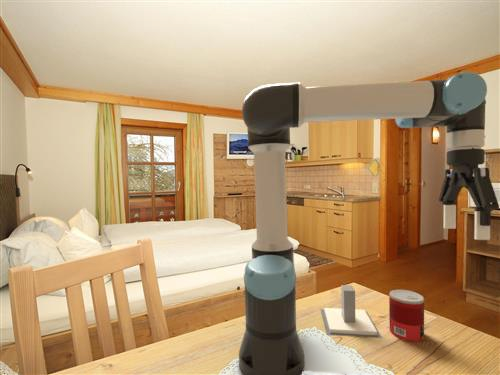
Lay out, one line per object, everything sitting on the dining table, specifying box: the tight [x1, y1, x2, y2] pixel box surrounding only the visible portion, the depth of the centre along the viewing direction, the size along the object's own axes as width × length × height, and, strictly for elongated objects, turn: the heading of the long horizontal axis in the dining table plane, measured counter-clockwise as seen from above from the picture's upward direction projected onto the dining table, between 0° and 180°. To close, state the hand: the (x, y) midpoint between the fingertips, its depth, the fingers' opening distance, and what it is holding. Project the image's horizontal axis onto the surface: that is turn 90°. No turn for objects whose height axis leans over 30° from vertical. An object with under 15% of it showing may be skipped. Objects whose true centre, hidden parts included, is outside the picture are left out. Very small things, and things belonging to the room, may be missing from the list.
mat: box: [319, 309, 383, 339], centre depth 78 cm, size 14×14×1 cm
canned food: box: [388, 289, 425, 343], centre depth 72 cm, size 8×8×11 cm
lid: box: [323, 284, 377, 335], centre depth 78 cm, size 12×12×10 cm
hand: (464, 233), depth 69 cm, fingers open, 13 cm apart
